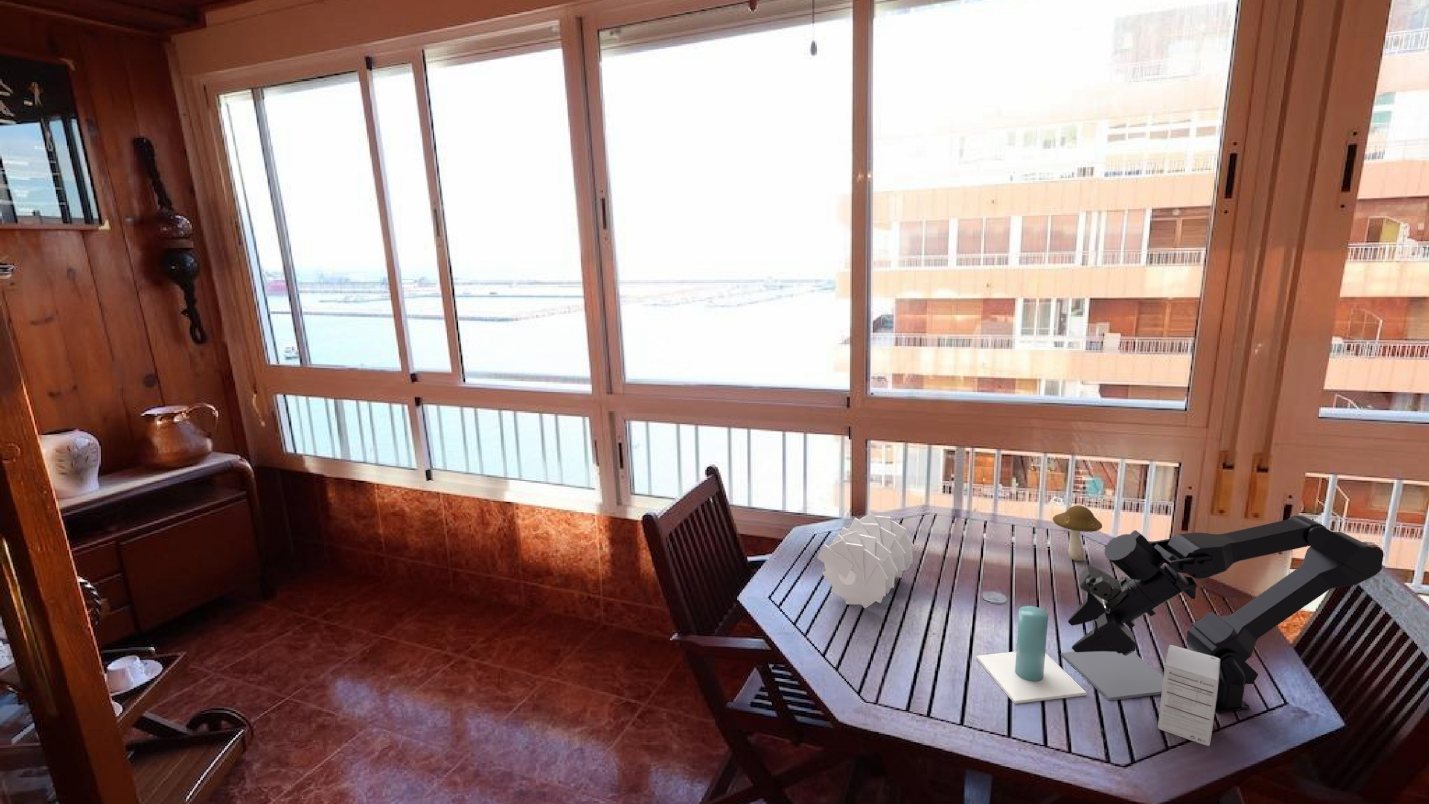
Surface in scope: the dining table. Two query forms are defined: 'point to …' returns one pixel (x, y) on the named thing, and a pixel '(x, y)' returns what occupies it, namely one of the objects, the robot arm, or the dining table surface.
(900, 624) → the dining table surface
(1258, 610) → the robot arm
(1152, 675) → the slate tile
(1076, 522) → the mushroom
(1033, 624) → the teal cylinder
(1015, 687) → the pale tile
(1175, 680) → the supplement box
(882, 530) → the spiral staircase
